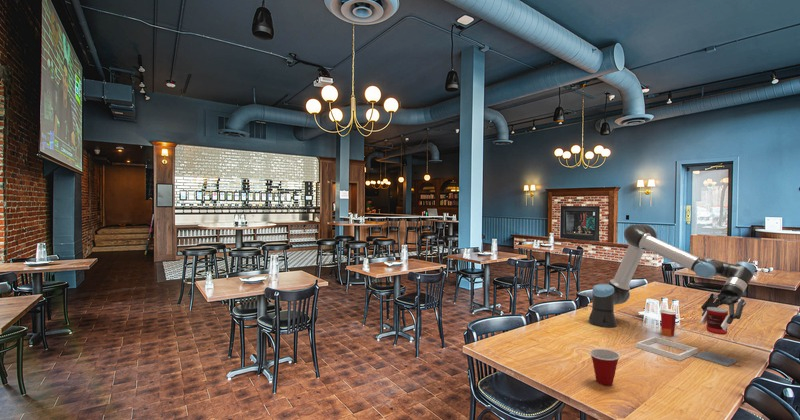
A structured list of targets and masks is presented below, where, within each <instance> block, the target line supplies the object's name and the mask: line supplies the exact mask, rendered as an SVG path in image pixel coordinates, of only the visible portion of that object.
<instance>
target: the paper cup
mask: <svg viewBox="0 0 800 420" xmlns="http://www.w3.org/2000/svg"><path fill="white" fill-rule="evenodd" d="M677 314H678V313H677V312H676V310H674V309H671V308H661V310H660V323H661V334H662V335H663V336H665V337H674V336H675V327H676V321H677V320H676V319H677V318H676V316H677Z"/></svg>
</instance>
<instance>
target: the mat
mask: <svg viewBox="0 0 800 420" xmlns="http://www.w3.org/2000/svg"><path fill="white" fill-rule="evenodd" d="M692 356H693V357H694V358H697V359H700V360H703V361H707V362H711V363H714V364H717V365H720V366H723V367H726V368H727V367H730V366H732V365H733V364H735V362H736V363H737V362H739V359H736V358H733V357H729V356H725V355H721V354H720V353H719V354H718V353H715V352H710V351H707V350H703V351H701V352H697V354H694V355H692Z"/></svg>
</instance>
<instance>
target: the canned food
mask: <svg viewBox="0 0 800 420" xmlns="http://www.w3.org/2000/svg"><path fill="white" fill-rule="evenodd" d="M727 315H729V309H725V308H723V307H707V321H706V331H707V332H708V333H712V334H715V335H725V336H726V335H727V333H728V327H727V328H726V329H725V330H723V328H722V327H721V325H722V323H723V321H724V319H725V318H726V316H727Z"/></svg>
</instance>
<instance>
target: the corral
mask: <svg viewBox="0 0 800 420" xmlns="http://www.w3.org/2000/svg"><path fill="white" fill-rule="evenodd" d="M654 343H657V344H661V345H664V346H668V347H672V348H675V349H679V350H682V351H683V352H681V353H675V352H671V351H667V350H665V349H661V348H658V347H654V346H652V345H651V344H654ZM650 345H651V346H650ZM636 348H637V349H640V350H644V351H646V352H650V353H652V354H656V355H659V356H663V357H666V358H669V359H673V360H675V361H679V362H681V361H683V360H685V359H688V358H690V357H692V356H694V355H696V354H698V348H697V347H694V346H690V345H687V344H684V343H679V342H676V341H671V340H670V339H665V338H661V337H659V336H658V337H657V336H652V337H650V338H649V337H648V338H647V339H644V340H640V341H637V342H636Z"/></svg>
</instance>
